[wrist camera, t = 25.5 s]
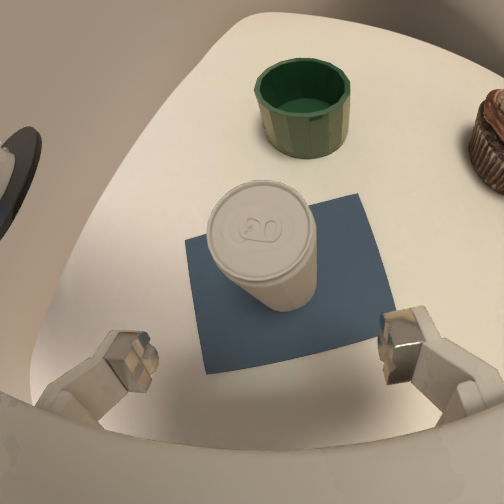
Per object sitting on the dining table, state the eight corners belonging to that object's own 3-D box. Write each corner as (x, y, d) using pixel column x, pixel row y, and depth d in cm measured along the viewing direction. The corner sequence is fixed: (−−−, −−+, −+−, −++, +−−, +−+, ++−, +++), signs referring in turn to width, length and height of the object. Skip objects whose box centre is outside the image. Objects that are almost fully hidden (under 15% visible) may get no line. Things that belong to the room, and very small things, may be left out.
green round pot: (277, 168, 27) (266, 127, 22) (258, 109, 30) (246, 69, 24) (360, 148, 26) (366, 106, 20) (330, 93, 29) (329, 52, 23)
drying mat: (207, 374, 23) (206, 374, 23) (186, 241, 27) (184, 240, 27) (399, 328, 21) (400, 328, 20) (357, 195, 25) (357, 192, 24)
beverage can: (262, 250, 25) (216, 174, 14) (320, 257, 24) (322, 181, 12) (251, 307, 23) (191, 275, 12) (312, 317, 22) (308, 292, 11)
